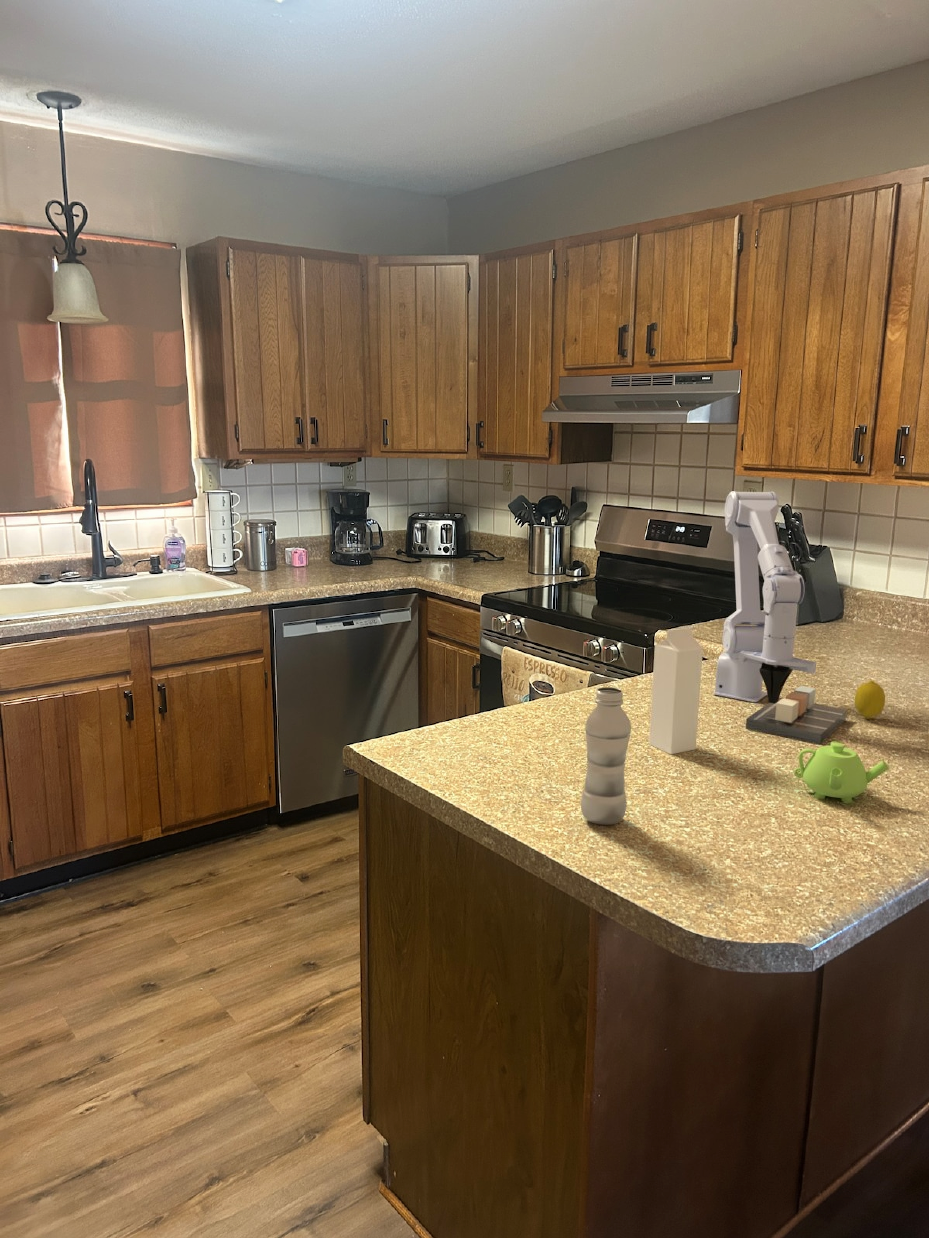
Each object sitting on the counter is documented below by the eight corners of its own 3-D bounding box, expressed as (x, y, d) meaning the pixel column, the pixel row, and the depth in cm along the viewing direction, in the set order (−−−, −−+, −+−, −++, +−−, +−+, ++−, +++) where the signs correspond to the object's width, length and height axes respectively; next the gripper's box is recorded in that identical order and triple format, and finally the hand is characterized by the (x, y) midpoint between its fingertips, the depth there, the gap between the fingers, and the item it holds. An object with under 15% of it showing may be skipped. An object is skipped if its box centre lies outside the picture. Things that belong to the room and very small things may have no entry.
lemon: (885, 724, 179) (890, 685, 177) (855, 722, 180) (860, 683, 178) (879, 715, 184) (883, 678, 183) (850, 713, 185) (854, 676, 184)
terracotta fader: (784, 712, 177) (785, 696, 177) (790, 707, 180) (792, 691, 180) (799, 715, 176) (801, 699, 175) (805, 710, 179) (807, 694, 178)
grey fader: (792, 705, 182) (794, 690, 181) (798, 701, 185) (800, 685, 184) (808, 708, 180) (809, 692, 179) (814, 704, 183) (815, 688, 182)
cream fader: (775, 719, 173) (776, 703, 172) (781, 714, 176) (783, 698, 175) (791, 722, 171) (792, 706, 171) (797, 717, 174) (799, 701, 174)
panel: (745, 728, 175) (746, 718, 175) (775, 706, 189) (776, 697, 189) (820, 744, 167) (821, 733, 167) (845, 720, 181) (846, 710, 181)
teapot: (780, 786, 147) (784, 736, 146) (833, 776, 152) (839, 728, 150) (832, 813, 137) (838, 760, 136) (888, 802, 142) (894, 751, 140)
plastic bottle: (575, 812, 136) (581, 684, 132) (619, 811, 137) (626, 683, 133) (584, 830, 130) (591, 697, 126) (631, 829, 131) (638, 696, 126)
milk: (695, 749, 164) (705, 631, 159) (670, 755, 161) (679, 634, 156) (672, 739, 169) (681, 623, 164) (647, 744, 166) (655, 626, 161)
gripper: (735, 633, 178) (730, 699, 181) (811, 644, 170) (804, 713, 173) (748, 627, 184) (742, 691, 187) (821, 638, 176) (815, 705, 178)
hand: (773, 701), depth 180 cm, fingers closed
